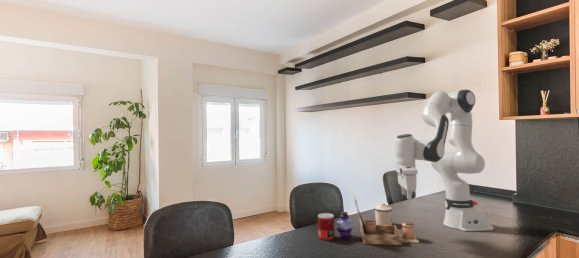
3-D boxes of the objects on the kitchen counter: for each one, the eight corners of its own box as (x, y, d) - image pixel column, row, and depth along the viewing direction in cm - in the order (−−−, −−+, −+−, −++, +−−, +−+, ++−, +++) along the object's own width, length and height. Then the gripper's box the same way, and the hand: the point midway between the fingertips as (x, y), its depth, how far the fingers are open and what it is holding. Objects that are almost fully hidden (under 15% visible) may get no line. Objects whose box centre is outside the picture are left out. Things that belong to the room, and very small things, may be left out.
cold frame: (395, 233, 145) (394, 193, 145) (402, 245, 130) (400, 201, 130) (354, 232, 148) (353, 193, 148) (356, 243, 133) (355, 200, 133)
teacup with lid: (396, 226, 155) (395, 204, 155) (380, 227, 153) (380, 205, 153) (384, 219, 167) (383, 199, 167) (369, 221, 165) (369, 200, 165)
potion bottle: (335, 233, 146) (334, 210, 146) (352, 233, 146) (351, 209, 146) (337, 240, 137) (336, 215, 138) (355, 240, 137) (354, 214, 137)
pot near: (413, 235, 139) (412, 221, 139) (416, 239, 134) (415, 225, 134) (400, 235, 140) (400, 221, 140) (403, 239, 135) (403, 225, 135)
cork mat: (413, 235, 141) (413, 234, 141) (419, 243, 131) (419, 241, 131) (398, 234, 142) (398, 233, 142) (403, 242, 133) (403, 241, 133)
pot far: (375, 232, 145) (375, 219, 145) (377, 236, 140) (376, 222, 140) (364, 231, 146) (363, 218, 146) (365, 235, 141) (364, 222, 141)
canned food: (330, 241, 136) (330, 218, 136) (315, 238, 140) (315, 216, 140) (337, 236, 142) (336, 214, 142) (322, 234, 146) (321, 212, 147)
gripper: (394, 165, 149) (395, 192, 149) (403, 171, 129) (405, 202, 129) (407, 165, 149) (408, 192, 149) (418, 171, 128) (419, 202, 128)
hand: (406, 196), depth 139 cm, fingers open, 8 cm apart
